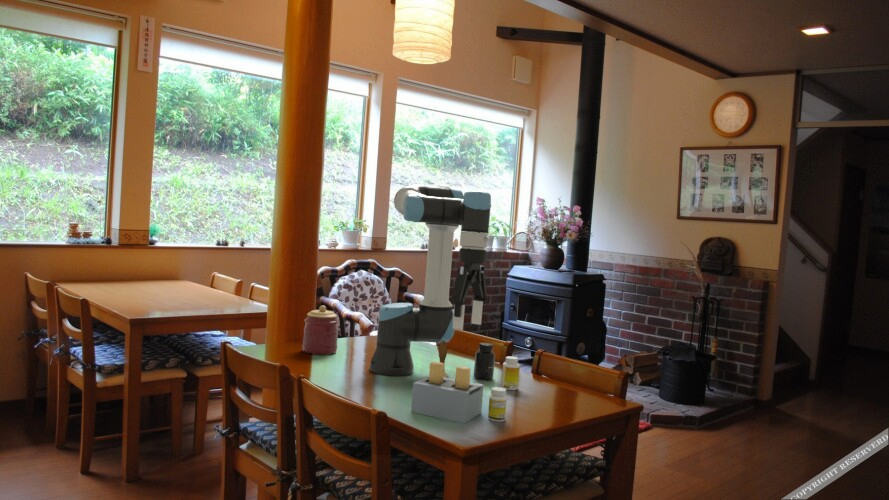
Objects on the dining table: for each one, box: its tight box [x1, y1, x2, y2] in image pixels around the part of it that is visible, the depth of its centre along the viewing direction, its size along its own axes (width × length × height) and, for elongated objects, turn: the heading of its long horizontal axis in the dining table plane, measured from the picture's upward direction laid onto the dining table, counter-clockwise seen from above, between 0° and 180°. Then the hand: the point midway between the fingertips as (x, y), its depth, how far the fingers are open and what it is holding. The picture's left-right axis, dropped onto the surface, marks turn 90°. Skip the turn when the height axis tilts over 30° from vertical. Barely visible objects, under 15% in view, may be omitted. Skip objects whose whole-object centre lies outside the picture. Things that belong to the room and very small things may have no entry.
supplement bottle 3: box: [500, 355, 521, 391], centre depth 214 cm, size 6×6×10 cm
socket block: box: [410, 376, 484, 424], centre depth 181 cm, size 16×12×8 cm
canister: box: [302, 305, 340, 356], centre depth 248 cm, size 13×13×18 cm
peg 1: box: [428, 361, 445, 384], centre depth 183 cm, size 4×4×8 cm
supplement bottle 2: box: [487, 386, 508, 423], centre depth 178 cm, size 5×5×8 cm
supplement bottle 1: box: [473, 342, 496, 381], centre depth 225 cm, size 7×7×12 cm
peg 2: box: [454, 366, 472, 390], centre depth 180 cm, size 4×4×8 cm
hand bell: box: [438, 340, 450, 378], centre depth 203 cm, size 8×8×16 cm
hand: (467, 326), depth 179 cm, fingers open, 12 cm apart
